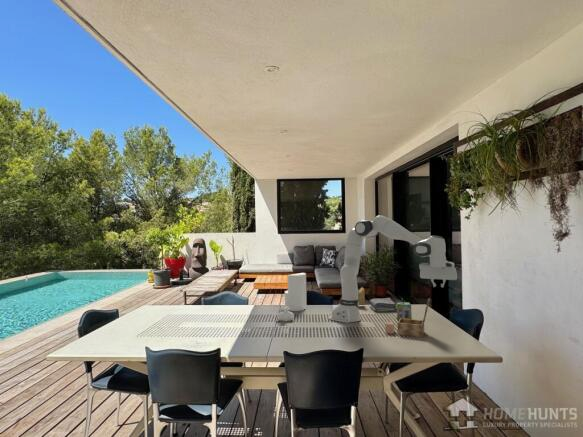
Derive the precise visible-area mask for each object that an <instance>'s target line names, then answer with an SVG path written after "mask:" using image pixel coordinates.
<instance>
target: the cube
mask: <svg viewBox="0 0 583 437" xmlns="http://www.w3.org/2000/svg"><path fill="white" fill-rule="evenodd" d="M384 325H385V333H387V334H394V333H395V322H389V321H386V322H385V324H384Z"/></svg>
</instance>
